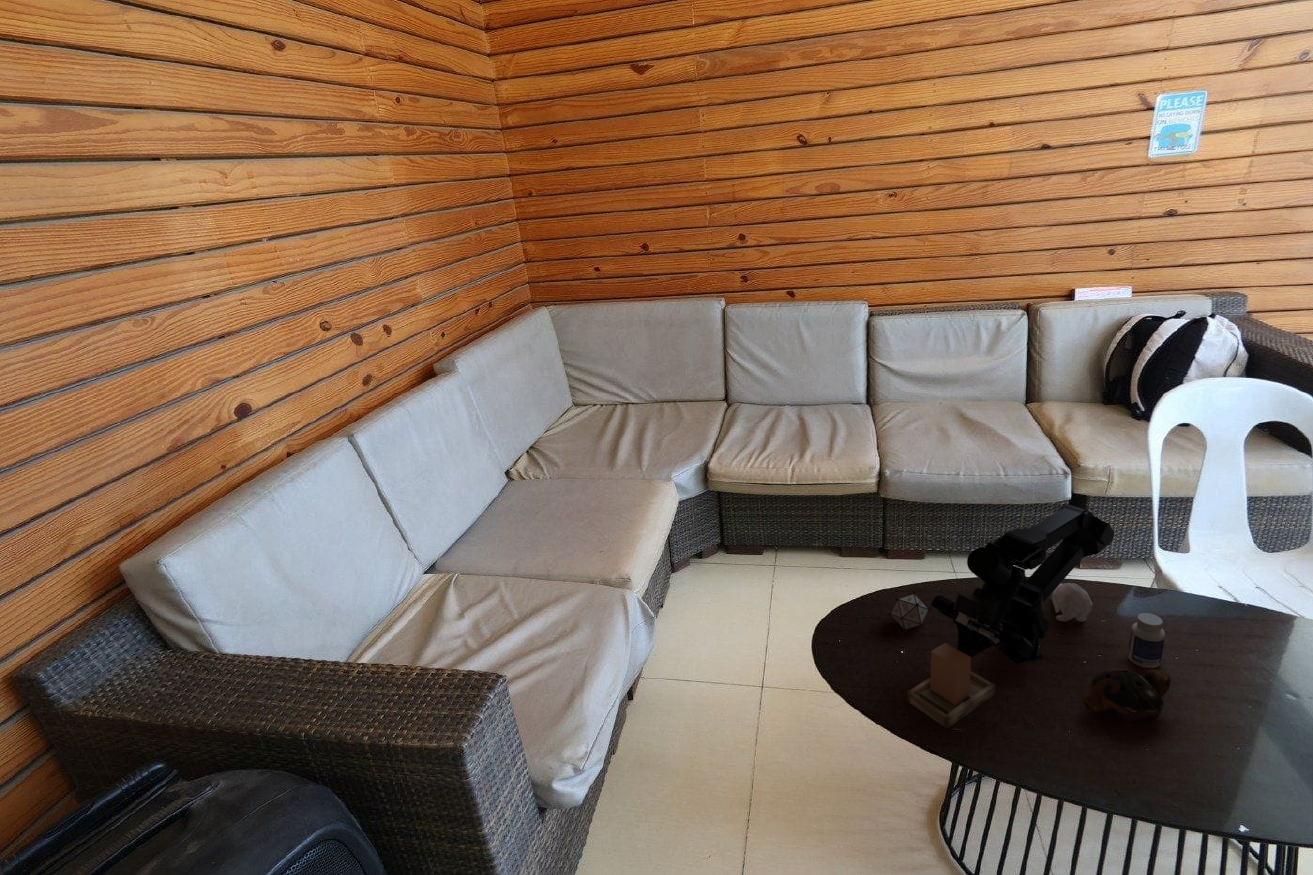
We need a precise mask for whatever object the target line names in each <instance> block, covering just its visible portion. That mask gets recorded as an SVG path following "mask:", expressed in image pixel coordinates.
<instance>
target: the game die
mask: <svg viewBox="0 0 1313 875" xmlns="http://www.w3.org/2000/svg"><path fill="white" fill-rule="evenodd" d="M894 599H895V600H896V601H895V602H894V604H893V607H892V609H891V612H889V613H886V616H888V617H889V616H891V617H892V618H893V619H894V620H895V621H896V622H897V624H898V625H899V626H900V627H901V628H902V629H903V630H902V632H903V634H905V633H906V630H909V629H913V628H916V627H922V628H924V627H925V625H924V624H923V623H924V620H925V618H926V616H927V615H928V613H929V611H932V610H933V607H927V606H926V605H925V604H924V602H923V601H921V599H920V598H919V597H918V596H917V595H916V590H913V591H912V593H911V594H909V595H908V594H907V595H905V596H903V597H902V596H901V597H898V596H894Z"/></svg>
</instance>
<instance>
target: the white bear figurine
mask: <svg viewBox="0 0 1313 875" xmlns="http://www.w3.org/2000/svg"><path fill="white" fill-rule="evenodd" d="M1048 598H1051V601H1052V603H1053V605H1054V606H1053V607H1054V610H1055V613H1059V612H1061V613H1062V614H1059V615H1057V616H1055V619H1056V621H1059V622H1068V621H1071V620H1073V619H1075V620H1076V621H1077V622H1080V623H1081V622H1086V621H1087V616H1088V615H1089V614H1091V610H1092V608H1093V602H1092V600H1091V598H1090V595H1089V594H1088V592H1087V590H1085V589H1083V588H1082V587H1081V585H1079V584H1076V583H1073V582H1072V583H1070V582H1066V583H1062V582H1061V583H1060V584H1059V585H1058V587H1057V588H1056V589H1055V590H1054V591H1053V592H1052V593H1051V595H1050V596H1049V597H1048Z"/></svg>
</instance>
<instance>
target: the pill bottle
mask: <svg viewBox="0 0 1313 875" xmlns="http://www.w3.org/2000/svg"><path fill="white" fill-rule="evenodd" d="M1163 626H1164V625H1163V619H1162V618H1161V617H1159V616H1158V615H1156V614H1153V613H1148V612H1147V613H1146V612H1142V613H1139V614H1138V615H1137V618H1136V622H1134V623H1133V624H1132V625H1131V629H1130V633H1129V634H1130V637H1129V642H1128V650H1127V658H1128V659H1129V661H1130V662H1132V663H1133V664H1135V665H1137V666H1138V667H1142V668H1146V669H1155V668H1158V667H1160V665H1161V662H1162V657H1163V652H1164V647H1165V640H1166V632H1165V630H1164V629H1163Z"/></svg>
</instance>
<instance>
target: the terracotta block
mask: <svg viewBox="0 0 1313 875" xmlns="http://www.w3.org/2000/svg"><path fill="white" fill-rule="evenodd" d="M971 664H972V658H971V657H970V656H968V655H966V654H964V653H963V652H961V651H959V650H957V648H955V647H954V646H952V645H950V644H948V643H947V642H944V643H942V644H941V645H939V646H937V647H936V648H934V649H932V650H931V651H930V677H931V681H930V689H931V690H932V691H934V692H935V693H937V694H938V695H940V696H941V697H943V698H945V699H946V700H948V701H949V702H951V703H952V704H954V705H957V704H959V703H960V702H961V701H963V700H964V699H966V698H967V697H969V690H970V671H972V670H971V668H972V667H971Z"/></svg>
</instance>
